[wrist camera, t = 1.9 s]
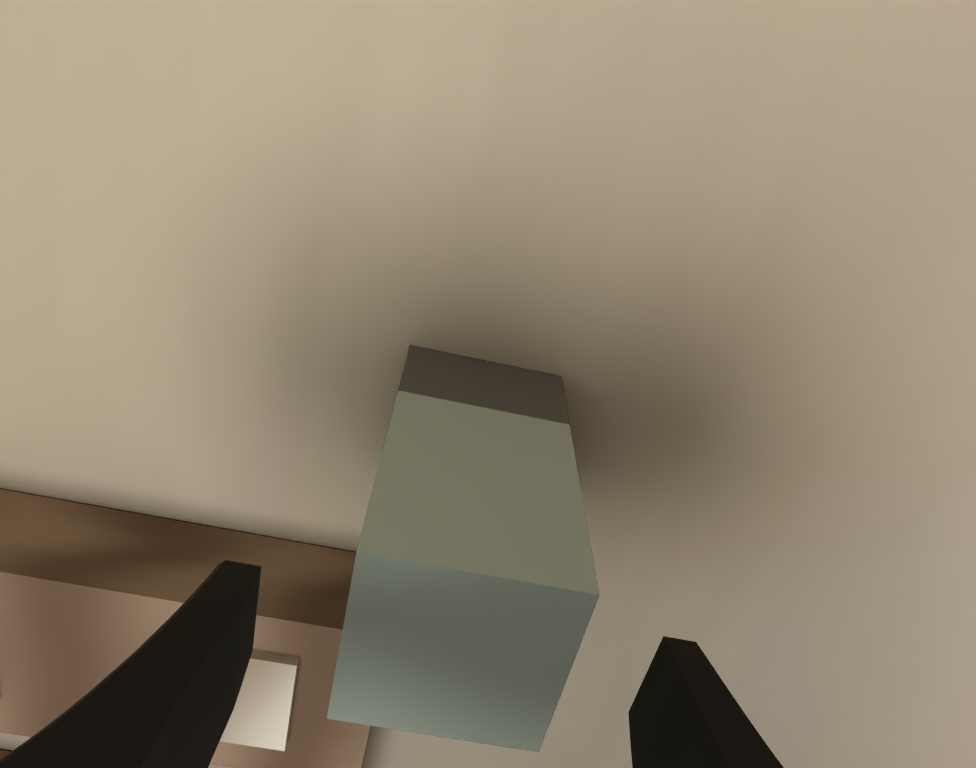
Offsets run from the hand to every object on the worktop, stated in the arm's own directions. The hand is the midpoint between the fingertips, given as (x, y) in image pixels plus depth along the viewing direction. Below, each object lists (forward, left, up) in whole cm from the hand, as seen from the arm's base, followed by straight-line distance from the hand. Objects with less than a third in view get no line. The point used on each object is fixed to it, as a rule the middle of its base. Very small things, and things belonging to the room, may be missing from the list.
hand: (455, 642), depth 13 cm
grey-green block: (0, 0, -8) cm, 8 cm away
